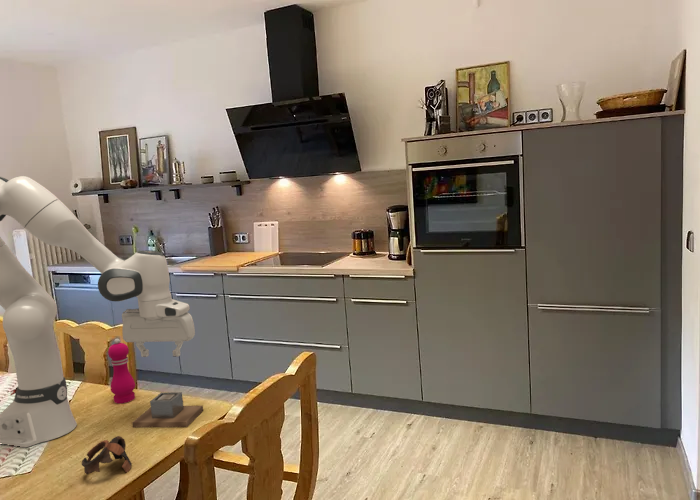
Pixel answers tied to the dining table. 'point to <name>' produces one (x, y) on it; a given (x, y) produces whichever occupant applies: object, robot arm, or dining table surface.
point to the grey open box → (167, 406)
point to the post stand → (179, 421)
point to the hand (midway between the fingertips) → (161, 356)
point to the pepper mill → (121, 373)
